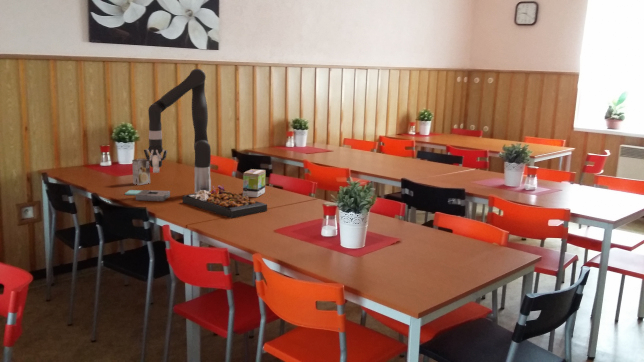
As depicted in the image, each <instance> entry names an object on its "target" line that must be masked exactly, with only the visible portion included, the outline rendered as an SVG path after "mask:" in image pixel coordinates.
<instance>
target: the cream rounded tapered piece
mask: <svg viewBox="0 0 644 362" xmlns="http://www.w3.org/2000/svg"><path fill="white" fill-rule="evenodd" d="M152 166H153V167H152V173H153V174H154V173H155V174H157V173H160V167H159V158H158V156H157V155H153V156H152Z"/></svg>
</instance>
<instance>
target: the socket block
mask: <svg viewBox="0 0 644 362" xmlns="http://www.w3.org/2000/svg"><path fill="white" fill-rule="evenodd" d="M170 197H171V191H170V190H156V189H155V190H153V189H151V190H150V189H143V190H142V191H141V192H140V193H138V194H137V195H135V201H143V202H144V201H149V202H150V201H151V202H165V201H166V200H168V198H170Z"/></svg>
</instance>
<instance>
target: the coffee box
mask: <svg viewBox="0 0 644 362" xmlns="http://www.w3.org/2000/svg"><path fill="white" fill-rule="evenodd" d="M131 161H132V184H133V185H136V184H137V185H136V186H141V185H143V186H144V185H149V184H151V166H150V160H148V159H146V158H138V159H137V158H136V159H131ZM148 183H149V184H148Z"/></svg>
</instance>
